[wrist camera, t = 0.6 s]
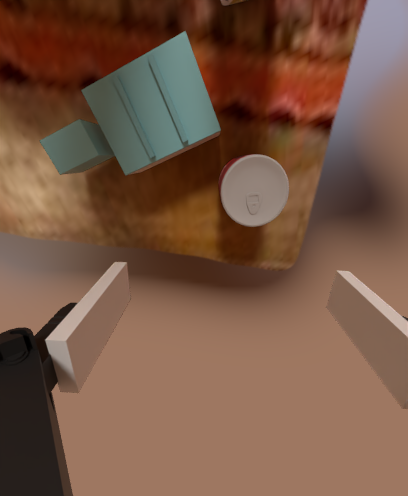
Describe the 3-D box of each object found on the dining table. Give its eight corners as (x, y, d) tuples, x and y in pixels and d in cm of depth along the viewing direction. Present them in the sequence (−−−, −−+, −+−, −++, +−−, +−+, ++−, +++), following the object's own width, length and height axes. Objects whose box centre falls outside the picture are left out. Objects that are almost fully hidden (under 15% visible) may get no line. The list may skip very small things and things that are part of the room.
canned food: (227, 214, 38) (232, 235, 28) (211, 166, 35) (210, 169, 25) (273, 199, 37) (296, 215, 26) (260, 147, 34) (280, 142, 24)
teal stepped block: (188, 44, 27) (183, 20, 22) (220, 132, 30) (221, 127, 25) (51, 120, 30) (22, 113, 25) (93, 192, 33) (74, 197, 29)
